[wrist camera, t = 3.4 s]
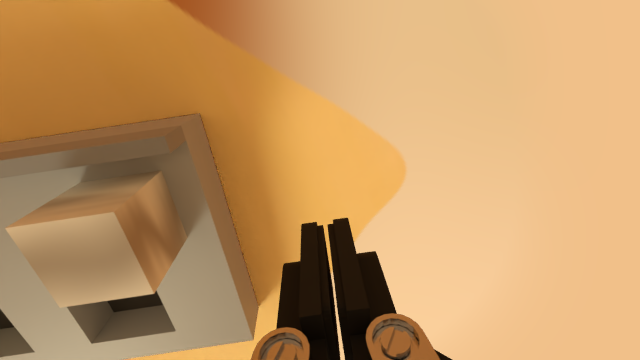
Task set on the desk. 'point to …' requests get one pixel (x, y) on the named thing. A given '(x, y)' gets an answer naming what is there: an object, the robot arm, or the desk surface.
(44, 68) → the desk surface
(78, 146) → the trap board
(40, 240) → the block
